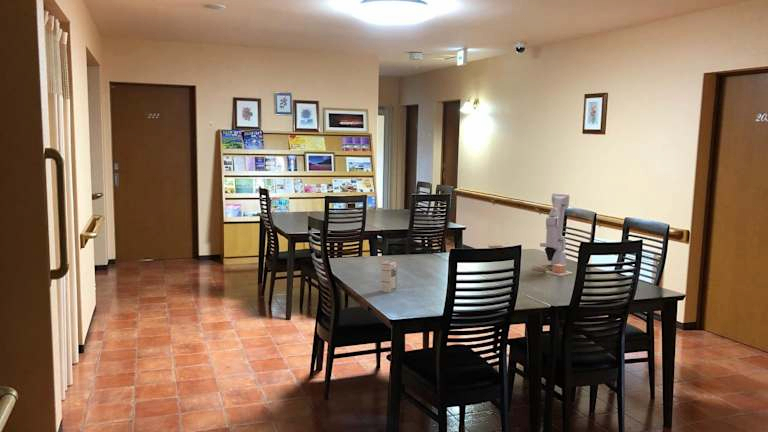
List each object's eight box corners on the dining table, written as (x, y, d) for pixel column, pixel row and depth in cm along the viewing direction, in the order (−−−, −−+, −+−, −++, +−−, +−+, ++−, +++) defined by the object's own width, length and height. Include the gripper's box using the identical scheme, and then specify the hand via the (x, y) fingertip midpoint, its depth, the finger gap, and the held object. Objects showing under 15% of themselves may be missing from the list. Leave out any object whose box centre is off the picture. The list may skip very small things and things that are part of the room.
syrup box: (390, 292, 305) (391, 263, 303) (380, 291, 308) (380, 261, 306) (396, 290, 310) (397, 261, 308) (386, 288, 313) (387, 260, 311)
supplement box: (501, 265, 379) (502, 244, 378) (501, 267, 374) (503, 245, 373) (487, 265, 380) (488, 243, 378) (487, 266, 375) (489, 245, 374)
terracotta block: (558, 272, 365) (558, 263, 365) (565, 273, 361) (565, 265, 361) (552, 273, 362) (552, 264, 362) (559, 274, 358) (559, 266, 358)
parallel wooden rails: (541, 267, 377) (542, 264, 377) (556, 270, 368) (556, 268, 368) (532, 268, 372) (532, 266, 372) (547, 272, 364) (547, 269, 363)
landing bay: (558, 270, 369) (558, 269, 369) (572, 274, 361) (572, 272, 360) (545, 272, 363) (545, 270, 363) (560, 276, 354) (560, 274, 354)
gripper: (536, 236, 369) (535, 258, 370) (556, 239, 357) (555, 263, 359) (545, 235, 373) (543, 257, 374) (564, 238, 361) (563, 262, 363)
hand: (549, 260), depth 367 cm, fingers closed
